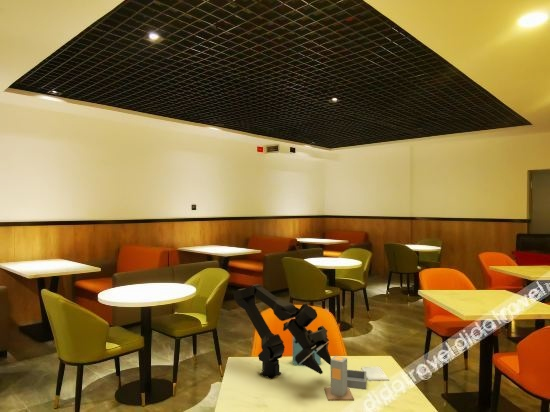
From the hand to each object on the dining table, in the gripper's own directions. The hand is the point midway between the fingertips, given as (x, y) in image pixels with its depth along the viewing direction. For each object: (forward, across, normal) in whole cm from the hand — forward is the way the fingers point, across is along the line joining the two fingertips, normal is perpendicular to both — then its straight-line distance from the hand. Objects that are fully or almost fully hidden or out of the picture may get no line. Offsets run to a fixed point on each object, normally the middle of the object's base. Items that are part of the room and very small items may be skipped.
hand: (327, 368), depth 141 cm
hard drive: (+14, +24, -1) cm, 28 cm away
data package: (-7, +21, +20) cm, 29 cm away
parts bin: (+10, +12, +2) cm, 16 cm away
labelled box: (+8, 0, +2) cm, 9 cm away
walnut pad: (+9, 0, +3) cm, 10 cm away
